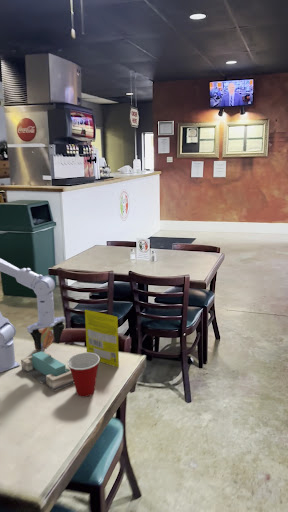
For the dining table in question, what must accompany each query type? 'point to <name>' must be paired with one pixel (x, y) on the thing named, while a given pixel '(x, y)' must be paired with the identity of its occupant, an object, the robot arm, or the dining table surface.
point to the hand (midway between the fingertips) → (48, 345)
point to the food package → (102, 336)
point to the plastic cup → (84, 372)
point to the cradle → (50, 379)
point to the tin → (46, 338)
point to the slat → (47, 364)
